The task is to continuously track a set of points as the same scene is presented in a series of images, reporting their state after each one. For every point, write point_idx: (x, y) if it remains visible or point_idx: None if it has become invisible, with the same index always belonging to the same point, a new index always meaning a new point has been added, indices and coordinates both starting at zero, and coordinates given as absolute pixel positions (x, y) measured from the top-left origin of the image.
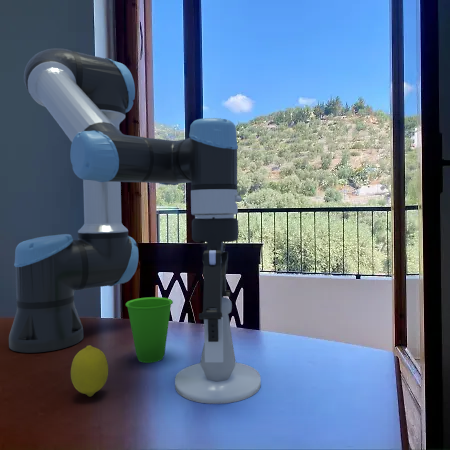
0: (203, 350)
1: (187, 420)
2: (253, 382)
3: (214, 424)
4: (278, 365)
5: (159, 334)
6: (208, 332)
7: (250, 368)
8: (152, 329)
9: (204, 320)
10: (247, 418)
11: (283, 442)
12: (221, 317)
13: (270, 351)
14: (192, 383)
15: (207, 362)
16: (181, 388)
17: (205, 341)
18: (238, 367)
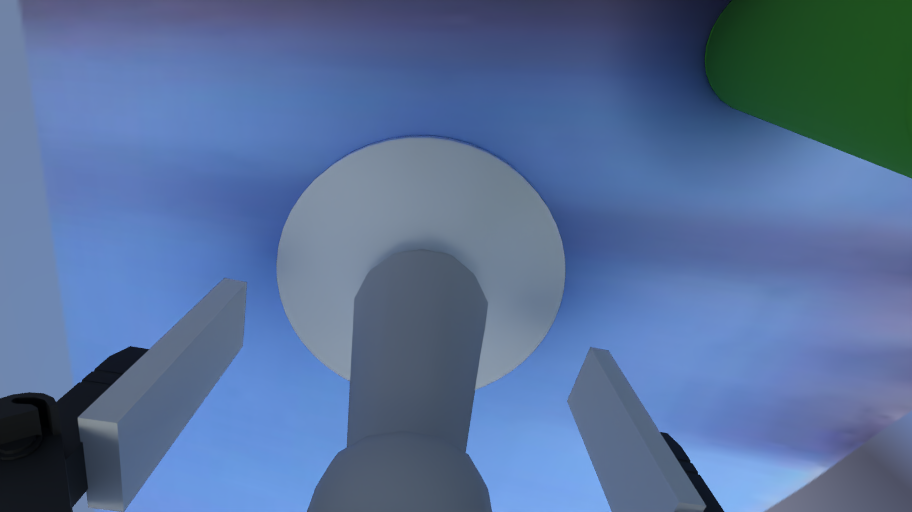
0: (408, 287)
1: (183, 156)
2: None
3: (161, 228)
4: (515, 447)
5: (776, 93)
6: (82, 381)
7: None
8: (800, 47)
9: (85, 410)
10: None
11: (83, 362)
12: (115, 505)
13: None
14: (383, 199)
15: (372, 280)
16: (346, 157)
17: (174, 331)
18: (483, 355)
